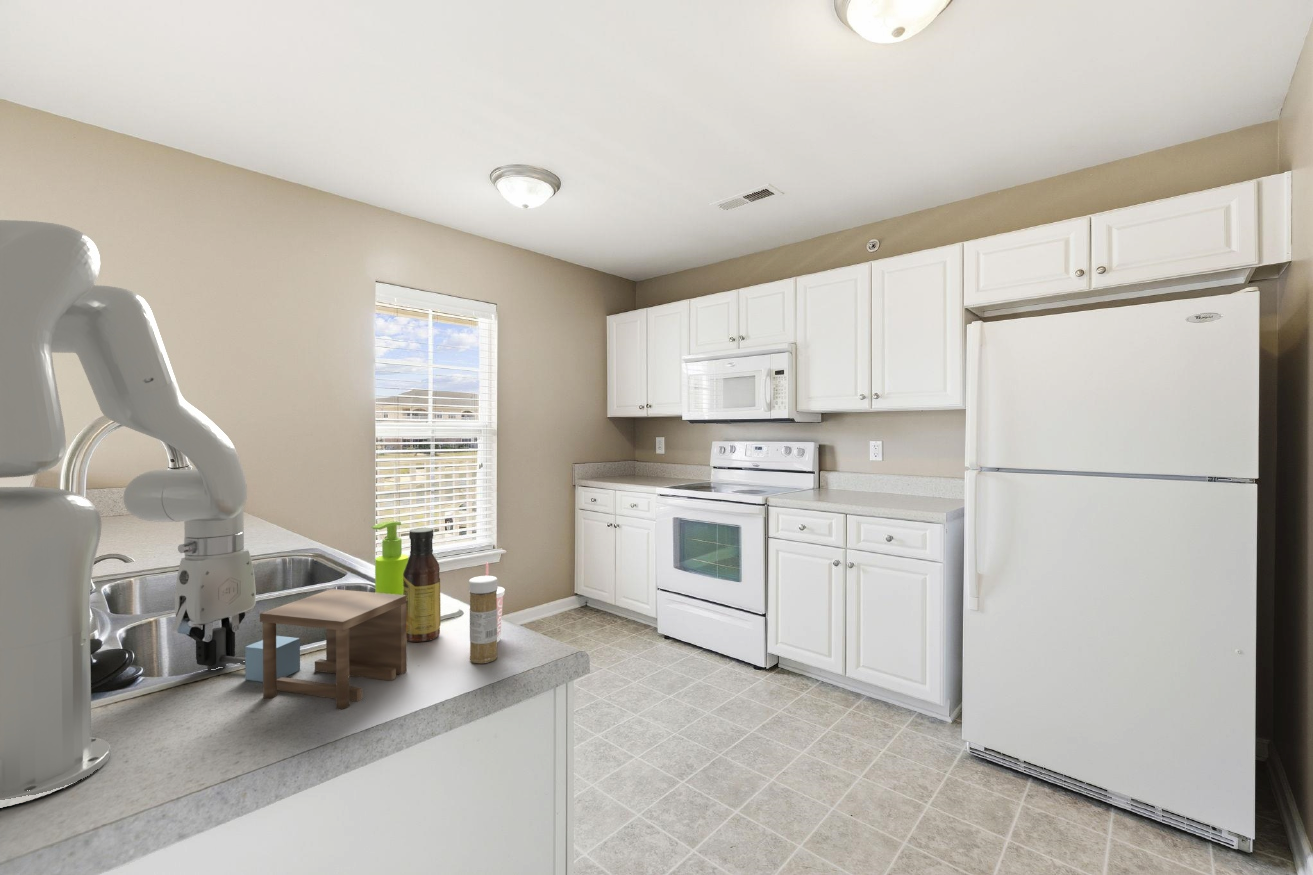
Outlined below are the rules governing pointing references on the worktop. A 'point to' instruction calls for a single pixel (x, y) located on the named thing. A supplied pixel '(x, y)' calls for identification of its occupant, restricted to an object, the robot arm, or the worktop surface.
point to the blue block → (259, 656)
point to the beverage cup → (499, 605)
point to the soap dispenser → (390, 562)
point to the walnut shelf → (341, 641)
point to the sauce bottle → (422, 588)
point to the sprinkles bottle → (483, 619)
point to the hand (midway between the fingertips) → (216, 659)
